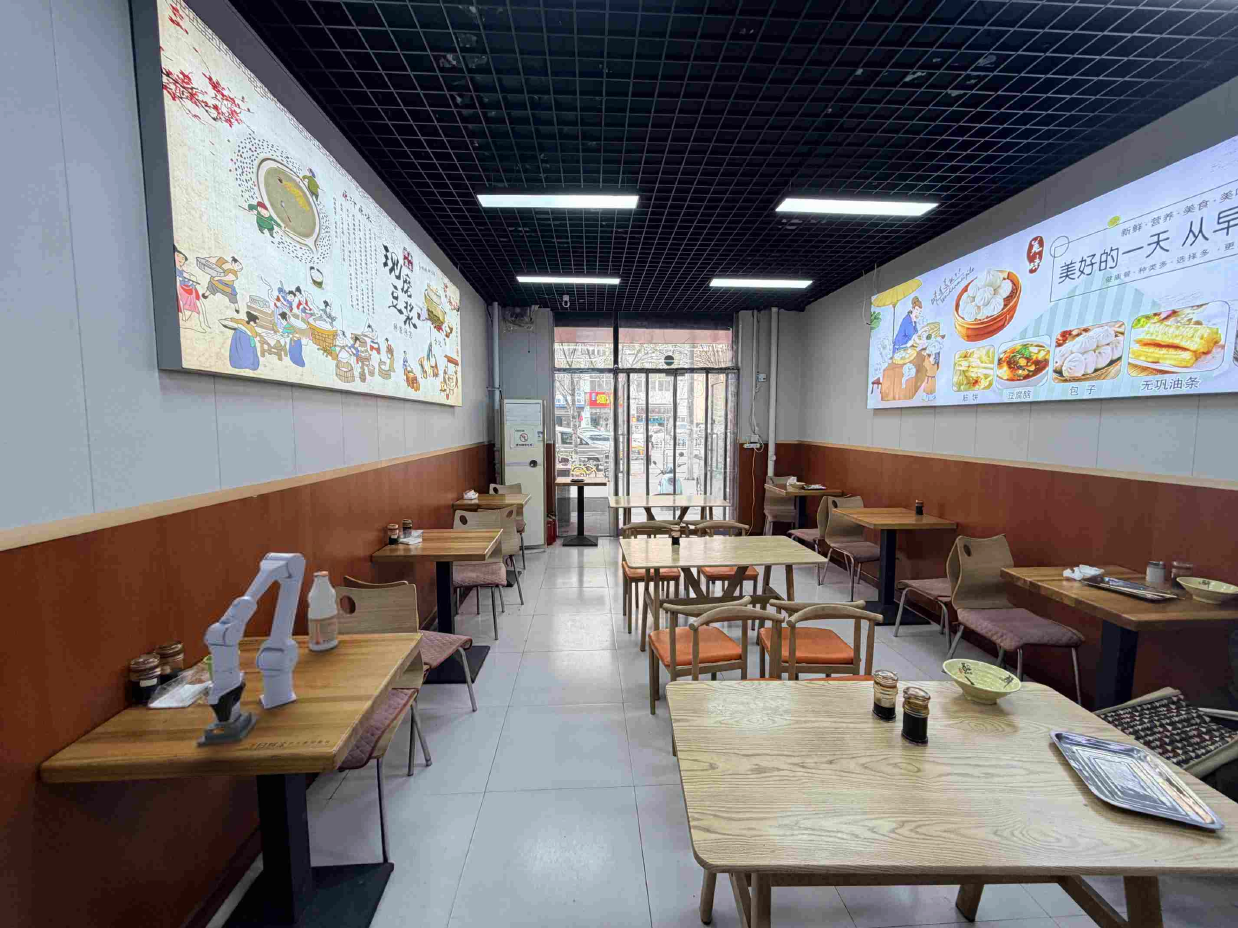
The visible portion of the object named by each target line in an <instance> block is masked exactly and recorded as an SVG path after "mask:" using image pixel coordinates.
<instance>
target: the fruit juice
mask: <svg viewBox="0 0 1238 928" xmlns="http://www.w3.org/2000/svg"><path fill="white" fill-rule="evenodd" d="M329 575H330V573H329V572H328V571H317V572H314V573H313V576H312V577H313V579H314V582H313V584H312V586H311V589H310V591H309V593H308V595H307V601H308V604H309V607H308V609H307V612H308V613H307V621H308V638H309V639H308V646H309V648H310V650H311V651H325V650H330V649H331V648H335V647H336V646H337V645H338V642H339V633H338V632H339V630H338V609H337V605H336V597H337V595H336V594H337V593H336V590H335V589H334V588H333V587H332V585H331V582H330V581H329Z"/></svg>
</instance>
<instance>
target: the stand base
mask: <svg viewBox="0 0 1238 928" xmlns="http://www.w3.org/2000/svg"><path fill="white" fill-rule="evenodd" d="M252 716H253V715H252V710H246V711H245V710H244V711H241V717H240V718H239V719H238V720H237V721H236V722H235V723H234V724H226V725H217V726H216V718H215V719H214V720H213V721H211V723H210V724H209V725H207V727H205V728H204V730H203V731H204V734H203V736H201V738H199V740H198V741H196V747H200V746H201V747H202V746H209V745H219V744H225V743H226V744H229V743H235V742H241V741H242V740H244V738H245V737H246V736H247V735H248V733H249V732H250V731H251V730H252V729H253V728H254V726H255V725H256V724H257V723H258V722H259V720H260V716H253V717H252Z"/></svg>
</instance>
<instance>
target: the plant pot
mask: <svg viewBox="0 0 1238 928" xmlns="http://www.w3.org/2000/svg"><path fill="white" fill-rule="evenodd" d="M238 653H239V655H240V654H241V651H240V650H239V649H238ZM203 662H204V663H205V665H206V666H207V670H208V673H209V678H210V682H211V681H212V682H211V684H212V683H213V676H212V658H211V654H208V655H207V656H206V657H204V658H203Z"/></svg>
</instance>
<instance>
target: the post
mask: <svg viewBox="0 0 1238 928" xmlns="http://www.w3.org/2000/svg"><path fill="white" fill-rule="evenodd" d="M241 709H242V708H241V699H240V700H237V701H232V703H231V708H230V718H229V721H228V722H220V723H219V721H218V719H217V717H216V714H215V713H214V714H215V719H216V726H217V725H226V724H234V723H235V722H236V721H237V720H238V719H239V718H240V717H241V712H242V711H241Z"/></svg>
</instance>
